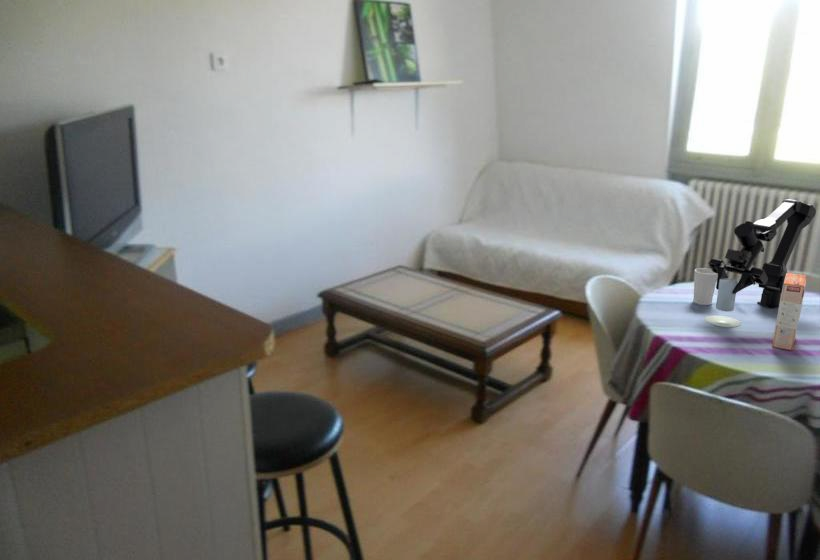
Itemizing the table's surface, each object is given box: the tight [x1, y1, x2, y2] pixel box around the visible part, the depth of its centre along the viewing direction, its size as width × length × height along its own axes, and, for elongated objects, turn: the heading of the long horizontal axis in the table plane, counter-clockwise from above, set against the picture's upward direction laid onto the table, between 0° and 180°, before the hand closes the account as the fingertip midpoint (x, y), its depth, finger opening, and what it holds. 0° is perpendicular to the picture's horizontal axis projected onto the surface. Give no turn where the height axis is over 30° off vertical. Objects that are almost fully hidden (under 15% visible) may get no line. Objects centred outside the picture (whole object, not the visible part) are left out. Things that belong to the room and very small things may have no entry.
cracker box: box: [772, 272, 807, 352], centre depth 203 cm, size 14×6×21 cm, turn 148°
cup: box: [692, 267, 718, 306], centre depth 242 cm, size 8×8×12 cm
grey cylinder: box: [715, 277, 739, 312], centre depth 221 cm, size 6×6×10 cm
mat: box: [704, 315, 741, 328], centre depth 224 cm, size 11×11×1 cm
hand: (724, 291), depth 220 cm, fingers closed on grey cylinder, 5 cm apart
